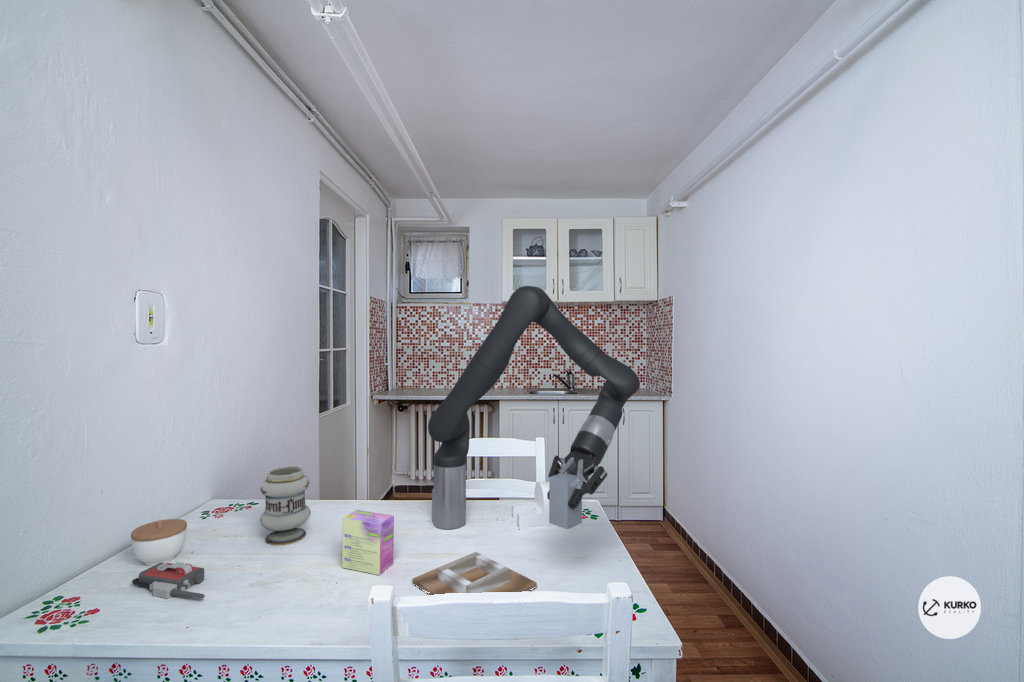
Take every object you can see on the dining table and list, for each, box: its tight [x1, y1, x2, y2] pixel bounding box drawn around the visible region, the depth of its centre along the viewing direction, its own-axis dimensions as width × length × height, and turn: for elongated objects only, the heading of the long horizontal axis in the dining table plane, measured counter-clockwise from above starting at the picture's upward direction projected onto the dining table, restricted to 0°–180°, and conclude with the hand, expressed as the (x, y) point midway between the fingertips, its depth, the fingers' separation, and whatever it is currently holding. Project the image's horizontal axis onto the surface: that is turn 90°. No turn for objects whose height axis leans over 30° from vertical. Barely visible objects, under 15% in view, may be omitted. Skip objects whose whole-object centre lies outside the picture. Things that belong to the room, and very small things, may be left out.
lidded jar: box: [130, 518, 188, 567], centre depth 112 cm, size 11×11×9 cm
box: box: [341, 509, 395, 576], centre depth 109 cm, size 10×6×12 cm, turn 71°
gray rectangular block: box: [548, 472, 583, 530], centre depth 102 cm, size 5×5×10 cm
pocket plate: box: [411, 551, 538, 596], centre depth 100 cm, size 20×18×4 cm
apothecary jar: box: [259, 465, 311, 546], centre depth 124 cm, size 12×12×18 cm
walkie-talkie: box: [131, 561, 205, 600], centre depth 100 cm, size 9×4×20 cm
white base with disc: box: [511, 481, 555, 529], centre depth 138 cm, size 18×10×11 cm, turn 103°
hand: (560, 503), depth 100 cm, fingers closed on gray rectangular block, 5 cm apart
